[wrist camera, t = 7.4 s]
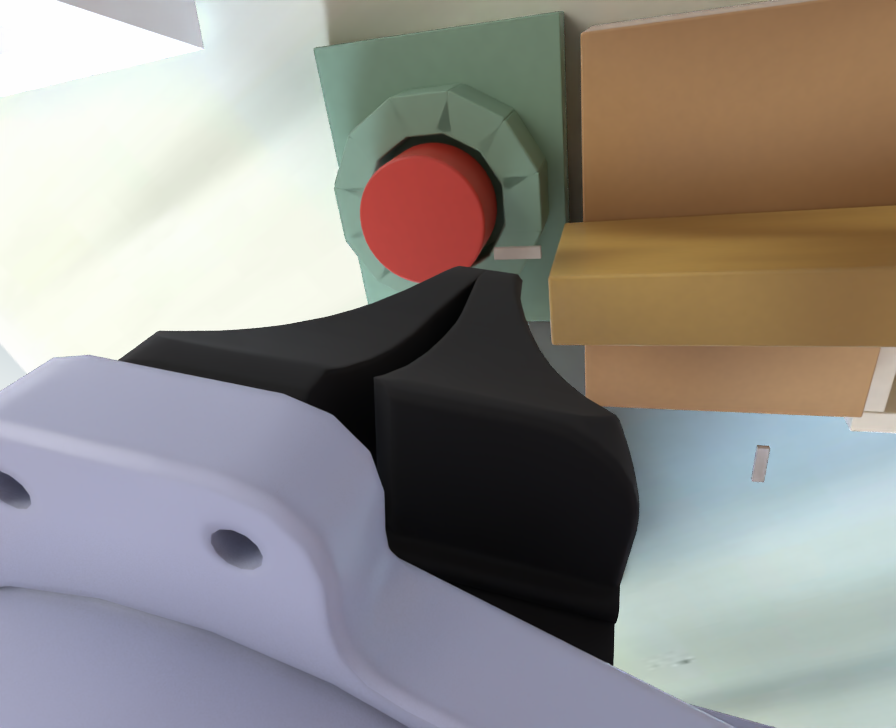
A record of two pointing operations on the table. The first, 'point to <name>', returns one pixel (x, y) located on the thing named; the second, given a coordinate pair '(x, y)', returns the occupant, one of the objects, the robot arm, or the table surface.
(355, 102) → the tap control
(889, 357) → the wooden tray
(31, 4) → the bracket
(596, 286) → the golden tan long bar
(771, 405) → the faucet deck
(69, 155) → the table surface
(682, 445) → the table surface
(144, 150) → the table surface
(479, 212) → the tap button
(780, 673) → the table surface
